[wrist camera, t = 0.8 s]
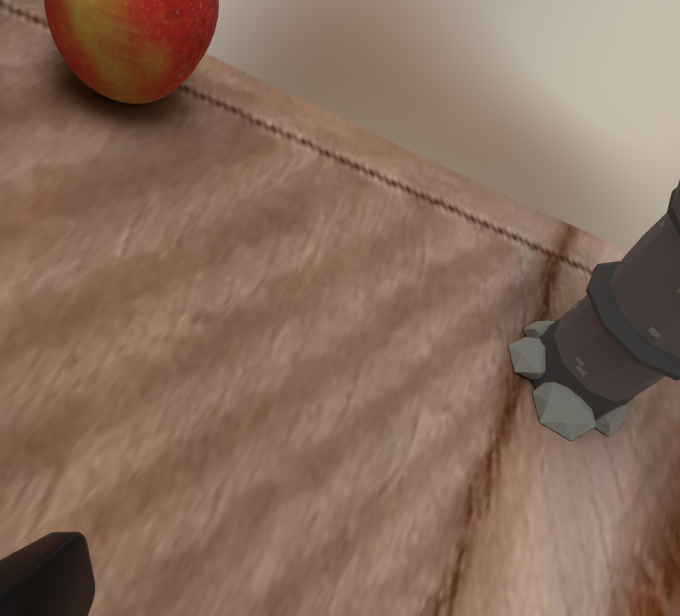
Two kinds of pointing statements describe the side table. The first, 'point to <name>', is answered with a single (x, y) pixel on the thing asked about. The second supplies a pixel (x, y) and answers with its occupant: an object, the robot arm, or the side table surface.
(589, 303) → the model tower
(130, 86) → the apple
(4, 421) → the side table surface
